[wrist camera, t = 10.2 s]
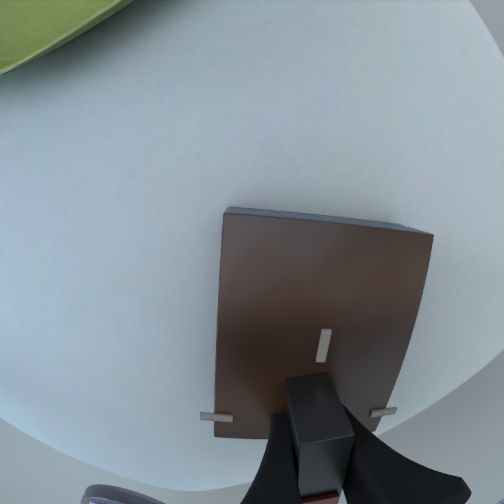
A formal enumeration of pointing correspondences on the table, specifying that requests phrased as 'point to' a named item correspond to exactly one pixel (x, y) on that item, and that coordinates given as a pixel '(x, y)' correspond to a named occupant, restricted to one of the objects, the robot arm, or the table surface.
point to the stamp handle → (318, 437)
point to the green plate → (46, 26)
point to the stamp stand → (312, 312)
